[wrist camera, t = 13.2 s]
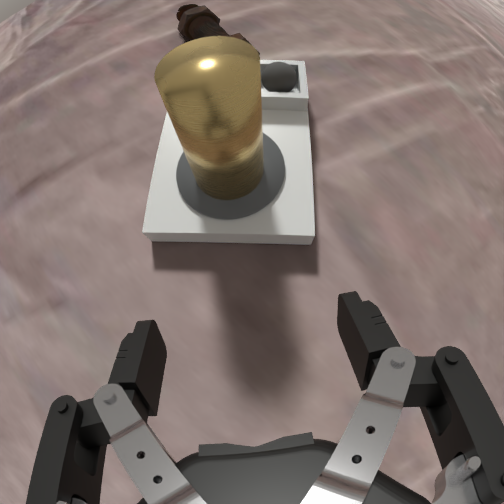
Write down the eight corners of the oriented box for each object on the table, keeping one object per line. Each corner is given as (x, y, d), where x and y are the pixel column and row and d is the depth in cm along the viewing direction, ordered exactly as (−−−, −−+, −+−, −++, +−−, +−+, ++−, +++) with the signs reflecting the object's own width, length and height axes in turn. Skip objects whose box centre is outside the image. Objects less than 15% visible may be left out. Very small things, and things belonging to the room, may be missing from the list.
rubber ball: (261, 101, 24) (260, 76, 21) (261, 78, 25) (261, 54, 22) (296, 102, 24) (299, 77, 21) (295, 79, 25) (297, 55, 22)
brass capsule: (191, 200, 22) (143, 104, 12) (199, 142, 23) (167, 41, 13) (262, 200, 21) (258, 97, 12) (264, 142, 23) (261, 34, 13)
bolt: (198, 32, 34) (244, 88, 29) (163, 29, 31) (200, 86, 26) (213, -4, 29) (268, 43, 25) (176, -9, 26) (222, 35, 22)
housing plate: (151, 241, 23) (133, 224, 20) (181, 90, 28) (173, 64, 24) (310, 244, 23) (318, 227, 19) (302, 88, 27) (305, 61, 24)
